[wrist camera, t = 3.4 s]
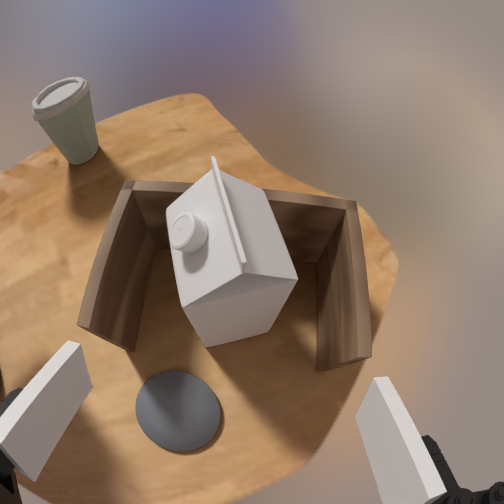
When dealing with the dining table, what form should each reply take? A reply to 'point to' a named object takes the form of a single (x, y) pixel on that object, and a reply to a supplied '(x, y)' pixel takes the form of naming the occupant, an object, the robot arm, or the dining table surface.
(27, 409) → the robot arm
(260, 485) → the dining table surface
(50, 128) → the disposable coffee cup
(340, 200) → the walnut cubby
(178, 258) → the milk carton
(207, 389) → the disc
